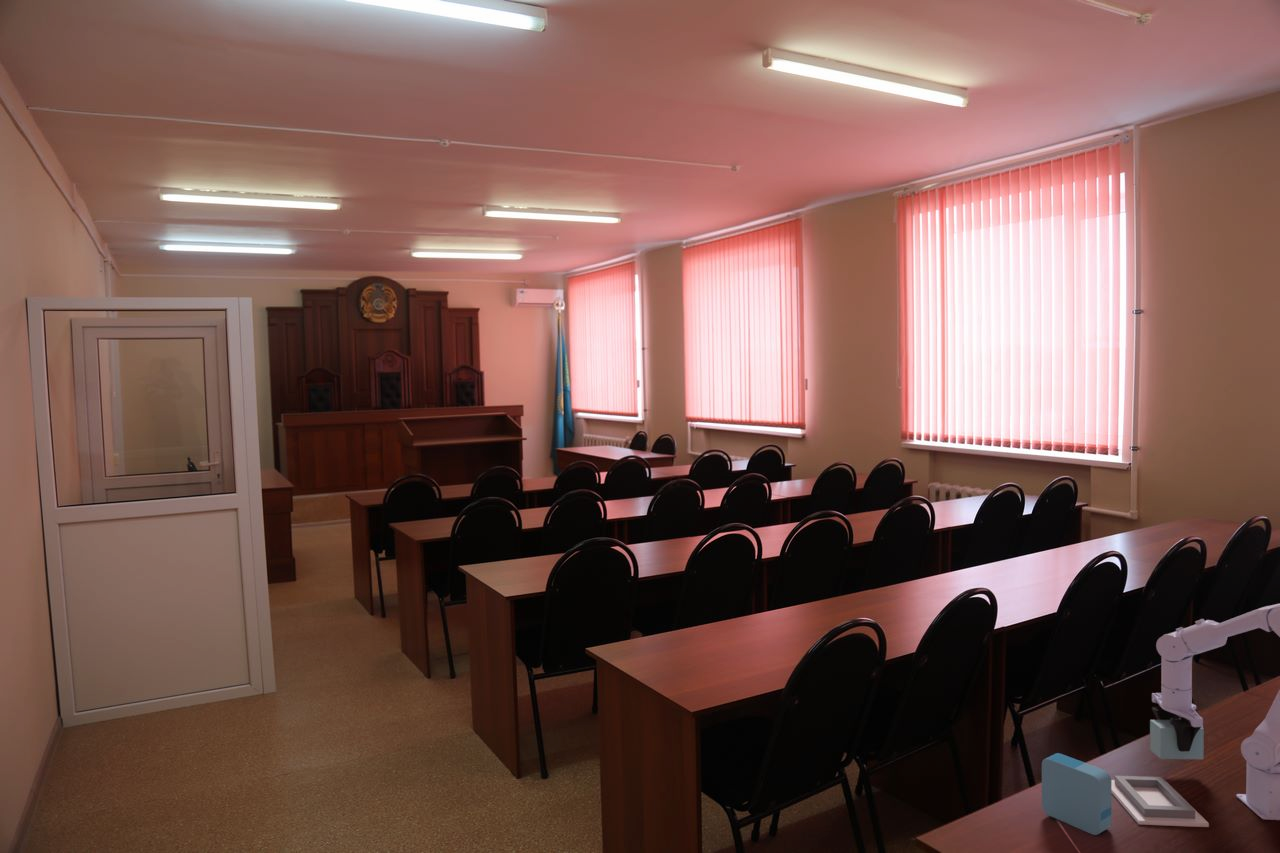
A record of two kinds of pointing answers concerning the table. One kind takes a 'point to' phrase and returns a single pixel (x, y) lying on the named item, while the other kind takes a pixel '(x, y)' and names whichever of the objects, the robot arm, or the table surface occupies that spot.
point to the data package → (1076, 793)
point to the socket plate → (1154, 802)
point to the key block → (1173, 741)
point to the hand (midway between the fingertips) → (1176, 745)
